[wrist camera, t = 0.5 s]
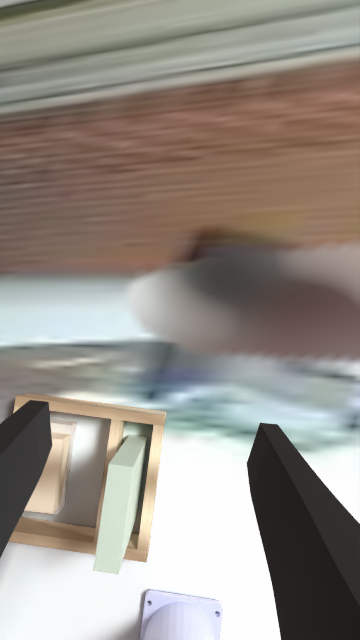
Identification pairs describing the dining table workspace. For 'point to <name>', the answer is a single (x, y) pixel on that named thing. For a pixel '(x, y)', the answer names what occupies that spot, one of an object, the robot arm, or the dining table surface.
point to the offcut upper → (51, 477)
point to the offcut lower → (68, 428)
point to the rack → (85, 536)
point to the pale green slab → (120, 504)
